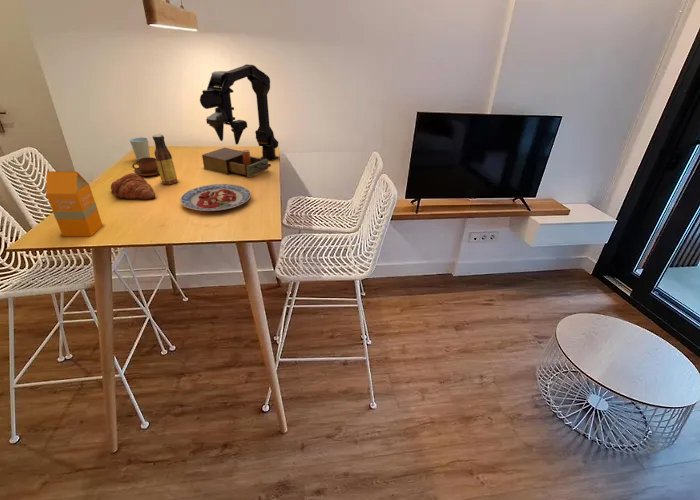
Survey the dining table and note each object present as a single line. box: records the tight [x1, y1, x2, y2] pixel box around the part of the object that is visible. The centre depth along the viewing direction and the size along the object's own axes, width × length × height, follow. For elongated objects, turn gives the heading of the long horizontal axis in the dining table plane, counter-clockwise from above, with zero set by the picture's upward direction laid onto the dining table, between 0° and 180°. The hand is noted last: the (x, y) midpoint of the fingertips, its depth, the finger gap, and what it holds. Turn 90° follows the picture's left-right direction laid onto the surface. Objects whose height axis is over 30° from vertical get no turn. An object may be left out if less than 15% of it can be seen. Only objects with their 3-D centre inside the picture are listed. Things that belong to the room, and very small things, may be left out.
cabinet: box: [201, 147, 243, 175], centre depth 180 cm, size 15×15×7 cm
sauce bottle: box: [152, 133, 178, 185], centre depth 158 cm, size 7×6×20 cm
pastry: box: [110, 172, 156, 201], centre depth 149 cm, size 17×15×8 cm
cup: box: [129, 136, 151, 162], centre depth 183 cm, size 8×8×10 cm
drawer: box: [227, 155, 272, 178], centre depth 175 cm, size 18×13×5 cm
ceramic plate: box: [179, 183, 252, 212], centre depth 147 cm, size 26×26×3 cm
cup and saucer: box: [131, 156, 160, 177], centre depth 170 cm, size 12×12×6 cm
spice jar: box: [241, 149, 251, 166], centre depth 174 cm, size 3×3×8 cm
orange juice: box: [45, 170, 103, 237], centre depth 119 cm, size 8×9×20 cm
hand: (229, 142), depth 167 cm, fingers open, 9 cm apart
